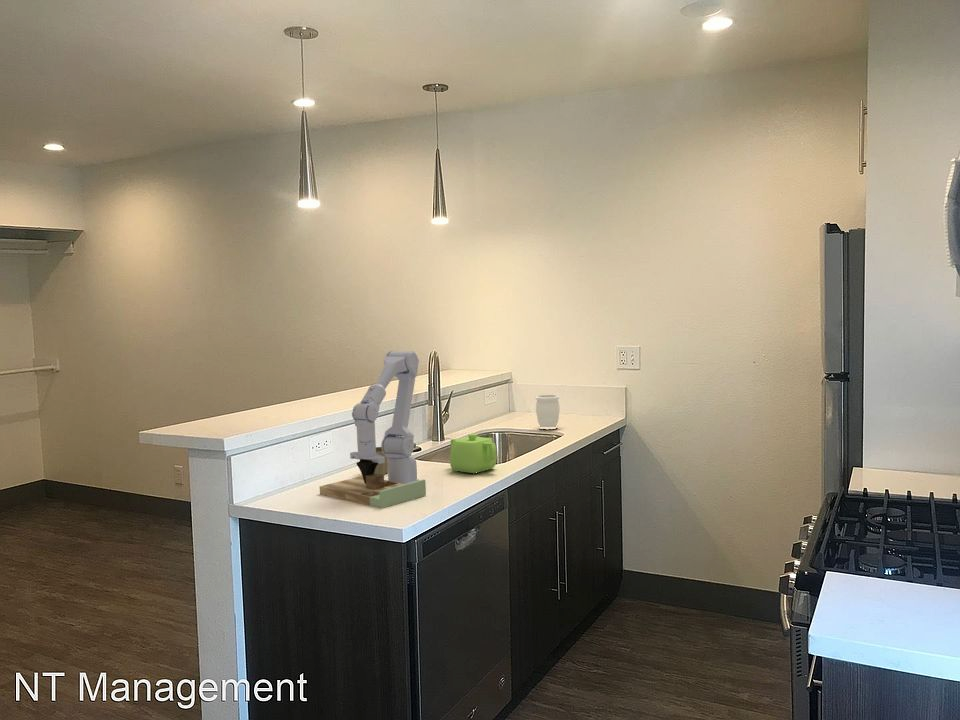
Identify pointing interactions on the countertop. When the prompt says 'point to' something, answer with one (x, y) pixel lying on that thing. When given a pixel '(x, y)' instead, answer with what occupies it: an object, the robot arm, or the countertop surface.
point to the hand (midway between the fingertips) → (368, 483)
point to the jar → (547, 410)
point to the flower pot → (381, 467)
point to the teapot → (472, 454)
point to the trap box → (374, 492)
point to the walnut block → (374, 481)
